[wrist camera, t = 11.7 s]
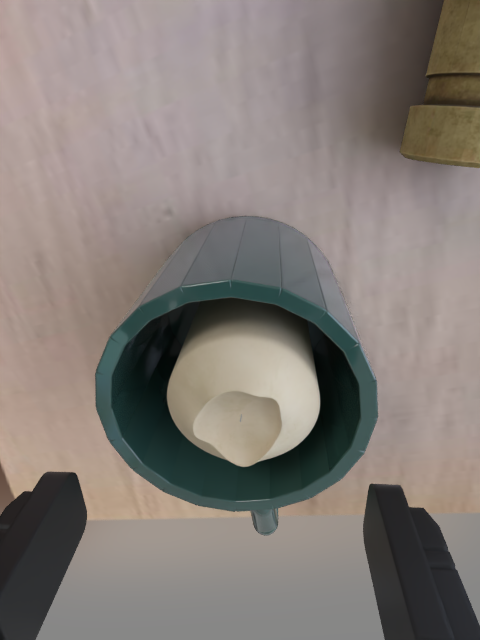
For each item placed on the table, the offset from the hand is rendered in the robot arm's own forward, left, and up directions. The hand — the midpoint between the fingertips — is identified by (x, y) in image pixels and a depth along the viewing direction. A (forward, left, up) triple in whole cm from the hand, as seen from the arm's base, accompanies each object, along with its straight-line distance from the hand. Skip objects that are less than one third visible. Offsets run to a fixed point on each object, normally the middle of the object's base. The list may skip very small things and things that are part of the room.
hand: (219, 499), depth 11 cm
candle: (0, 0, -13) cm, 13 cm away
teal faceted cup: (+2, -1, -13) cm, 13 cm away
